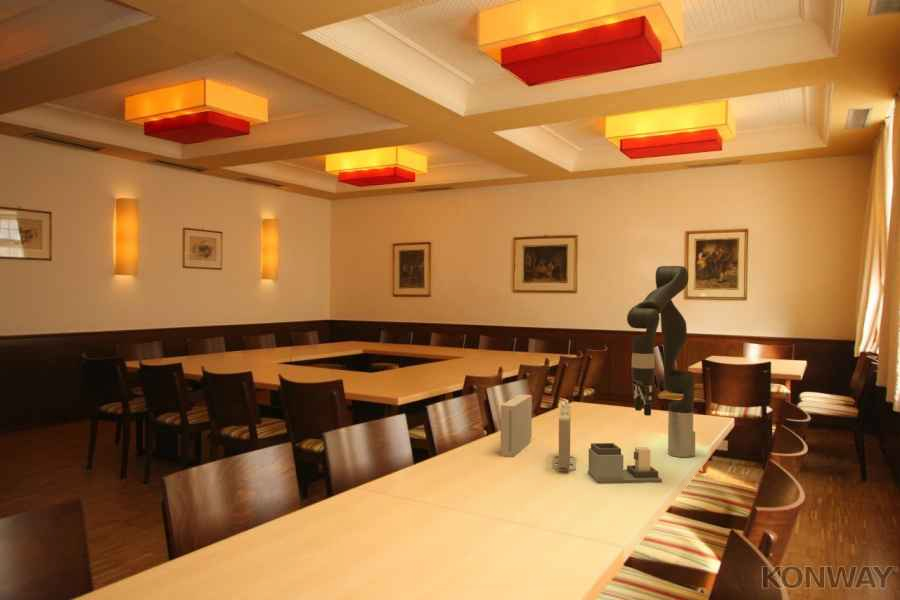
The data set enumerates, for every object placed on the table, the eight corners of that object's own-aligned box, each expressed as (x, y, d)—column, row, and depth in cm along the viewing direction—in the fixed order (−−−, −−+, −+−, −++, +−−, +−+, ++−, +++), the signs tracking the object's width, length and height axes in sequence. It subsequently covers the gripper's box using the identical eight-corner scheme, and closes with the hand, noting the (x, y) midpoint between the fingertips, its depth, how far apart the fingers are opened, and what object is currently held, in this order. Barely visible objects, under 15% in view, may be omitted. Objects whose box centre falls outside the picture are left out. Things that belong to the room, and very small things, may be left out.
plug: (645, 472, 218) (646, 446, 217) (650, 476, 214) (650, 449, 213) (632, 472, 217) (632, 447, 217) (636, 476, 213) (636, 450, 213)
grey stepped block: (648, 471, 222) (648, 441, 222) (662, 482, 210) (662, 449, 210) (587, 472, 220) (587, 441, 220) (597, 483, 208) (598, 450, 208)
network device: (575, 474, 219) (576, 417, 218) (550, 472, 220) (551, 416, 220) (576, 455, 244) (576, 404, 243) (553, 454, 245) (553, 403, 245)
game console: (499, 456, 243) (499, 405, 243) (518, 440, 268) (518, 394, 268) (513, 457, 241) (513, 406, 240) (531, 441, 266) (531, 395, 266)
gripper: (661, 368, 208) (661, 417, 208) (645, 363, 222) (645, 408, 223) (639, 369, 207) (639, 417, 208) (625, 363, 222) (625, 409, 222)
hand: (642, 412), depth 215 cm, fingers open, 8 cm apart
